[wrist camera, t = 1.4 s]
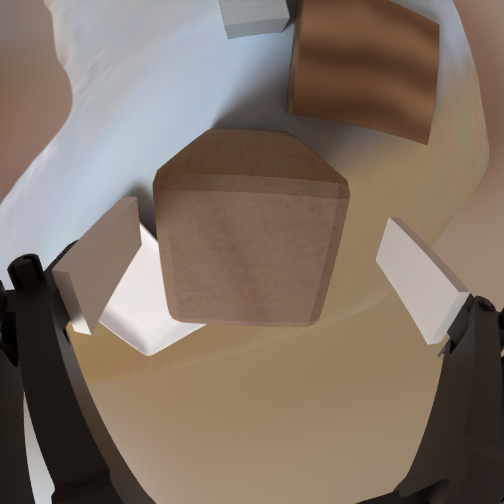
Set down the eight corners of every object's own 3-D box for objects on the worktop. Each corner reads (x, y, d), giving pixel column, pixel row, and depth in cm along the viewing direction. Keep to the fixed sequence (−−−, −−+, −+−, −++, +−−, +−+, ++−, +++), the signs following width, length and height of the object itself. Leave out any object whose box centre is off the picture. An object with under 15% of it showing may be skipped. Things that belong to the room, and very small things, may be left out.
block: (293, 132, 29) (360, 181, 12) (284, 211, 34) (320, 332, 17) (205, 127, 29) (144, 169, 11) (204, 207, 34) (166, 327, 17)
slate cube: (219, -2, 20) (213, -22, 15) (271, -9, 20) (277, -30, 15) (228, 39, 23) (224, 26, 18) (281, 32, 23) (289, 17, 18)
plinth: (297, -8, 20) (306, -24, 15) (417, 30, 21) (439, 25, 16) (285, 111, 28) (292, 113, 24) (406, 137, 29) (427, 145, 24)
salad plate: (152, 345, 48) (147, 359, 45) (64, 274, 39) (55, 286, 36) (235, 294, 41) (234, 309, 39) (129, 192, 33) (119, 202, 30)
